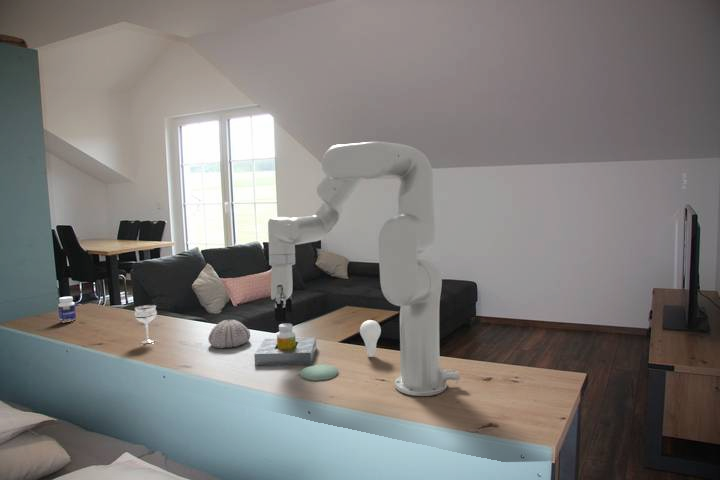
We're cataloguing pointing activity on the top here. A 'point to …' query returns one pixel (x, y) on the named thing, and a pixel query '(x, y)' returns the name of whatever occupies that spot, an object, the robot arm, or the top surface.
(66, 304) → the pill bottle
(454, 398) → the top surface
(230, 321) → the sea urchin shell
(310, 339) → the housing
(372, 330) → the lightbulb
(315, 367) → the pad
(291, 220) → the robot arm
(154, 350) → the top surface
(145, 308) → the wineglass
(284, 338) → the supplement bottle
